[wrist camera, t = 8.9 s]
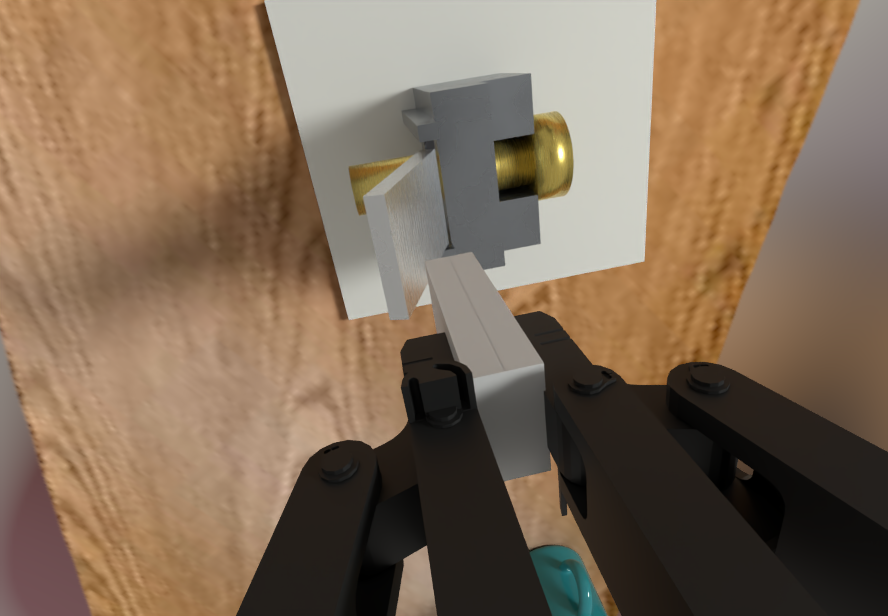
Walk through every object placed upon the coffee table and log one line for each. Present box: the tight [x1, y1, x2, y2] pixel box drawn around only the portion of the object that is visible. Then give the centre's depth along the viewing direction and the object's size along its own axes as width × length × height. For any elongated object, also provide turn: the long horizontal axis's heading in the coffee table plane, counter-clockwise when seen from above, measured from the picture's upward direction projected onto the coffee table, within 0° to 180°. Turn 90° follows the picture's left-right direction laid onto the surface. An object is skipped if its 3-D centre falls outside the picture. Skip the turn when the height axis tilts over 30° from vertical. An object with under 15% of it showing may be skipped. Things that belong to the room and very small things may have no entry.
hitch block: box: [401, 73, 541, 270], centre depth 30 cm, size 7×10×10 cm
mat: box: [264, 0, 656, 320], centre depth 35 cm, size 22×25×1 cm
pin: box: [349, 111, 574, 216], centre depth 30 cm, size 13×5×5 cm, turn 98°
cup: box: [530, 545, 607, 616], centre depth 52 cm, size 9×12×11 cm
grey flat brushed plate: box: [363, 149, 449, 320], centre depth 22 cm, size 1×5×8 cm, turn 8°
